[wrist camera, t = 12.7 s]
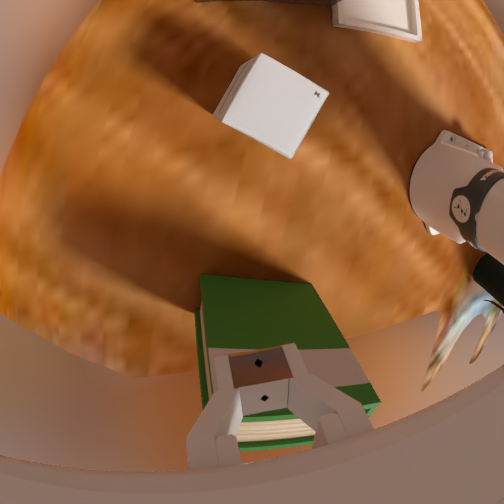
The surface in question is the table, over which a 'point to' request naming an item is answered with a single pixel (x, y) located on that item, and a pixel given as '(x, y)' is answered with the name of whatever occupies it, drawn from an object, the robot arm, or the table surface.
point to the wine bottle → (491, 278)
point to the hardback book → (270, 335)
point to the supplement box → (271, 104)
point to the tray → (380, 17)
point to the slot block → (314, 0)
